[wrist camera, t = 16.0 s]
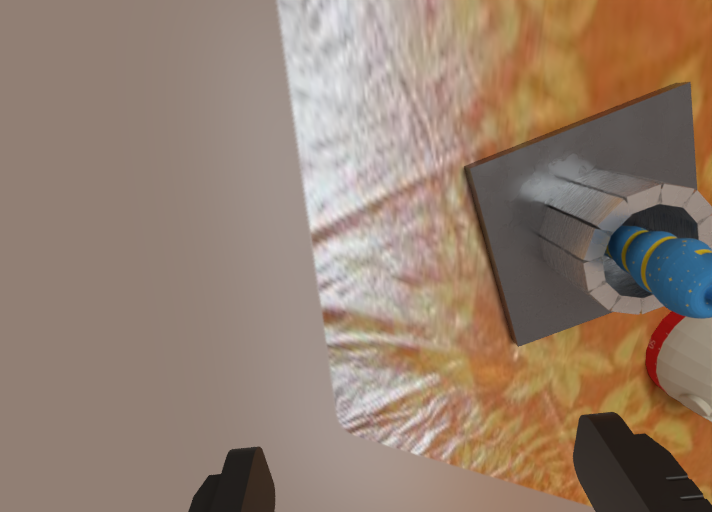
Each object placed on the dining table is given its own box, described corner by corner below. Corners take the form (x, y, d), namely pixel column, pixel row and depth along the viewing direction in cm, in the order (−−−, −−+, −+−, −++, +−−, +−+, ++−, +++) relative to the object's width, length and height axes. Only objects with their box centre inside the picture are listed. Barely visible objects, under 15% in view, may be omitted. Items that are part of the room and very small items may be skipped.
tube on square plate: (464, 166, 37) (503, 183, 30) (676, 82, 36) (775, 77, 29) (512, 339, 45) (553, 389, 37) (690, 273, 44) (773, 311, 36)
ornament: (630, 221, 39) (802, 290, 25) (594, 264, 41) (738, 352, 27) (592, 194, 38) (752, 251, 24) (556, 240, 39) (687, 319, 25)
